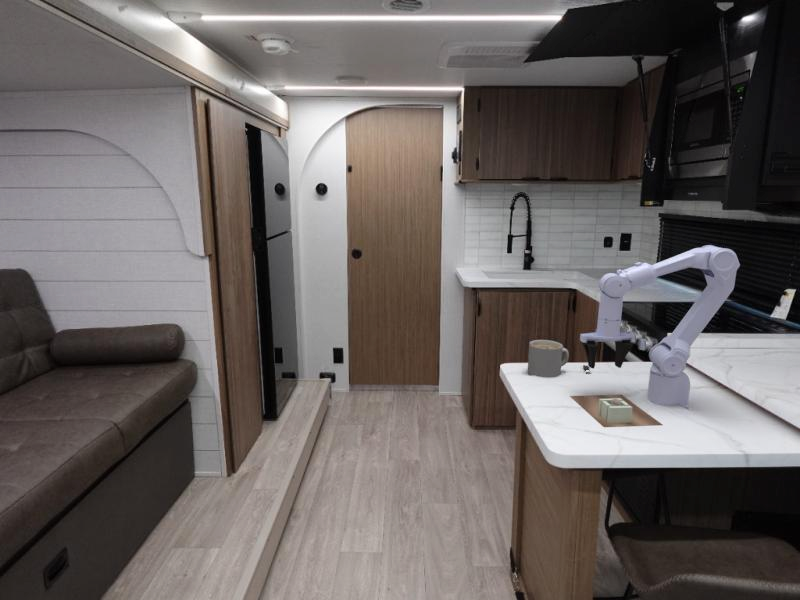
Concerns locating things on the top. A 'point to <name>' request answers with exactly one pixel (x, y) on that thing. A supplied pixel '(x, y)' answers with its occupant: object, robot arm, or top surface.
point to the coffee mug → (546, 358)
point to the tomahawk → (586, 369)
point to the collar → (615, 411)
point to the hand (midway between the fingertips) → (604, 366)
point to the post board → (594, 405)
